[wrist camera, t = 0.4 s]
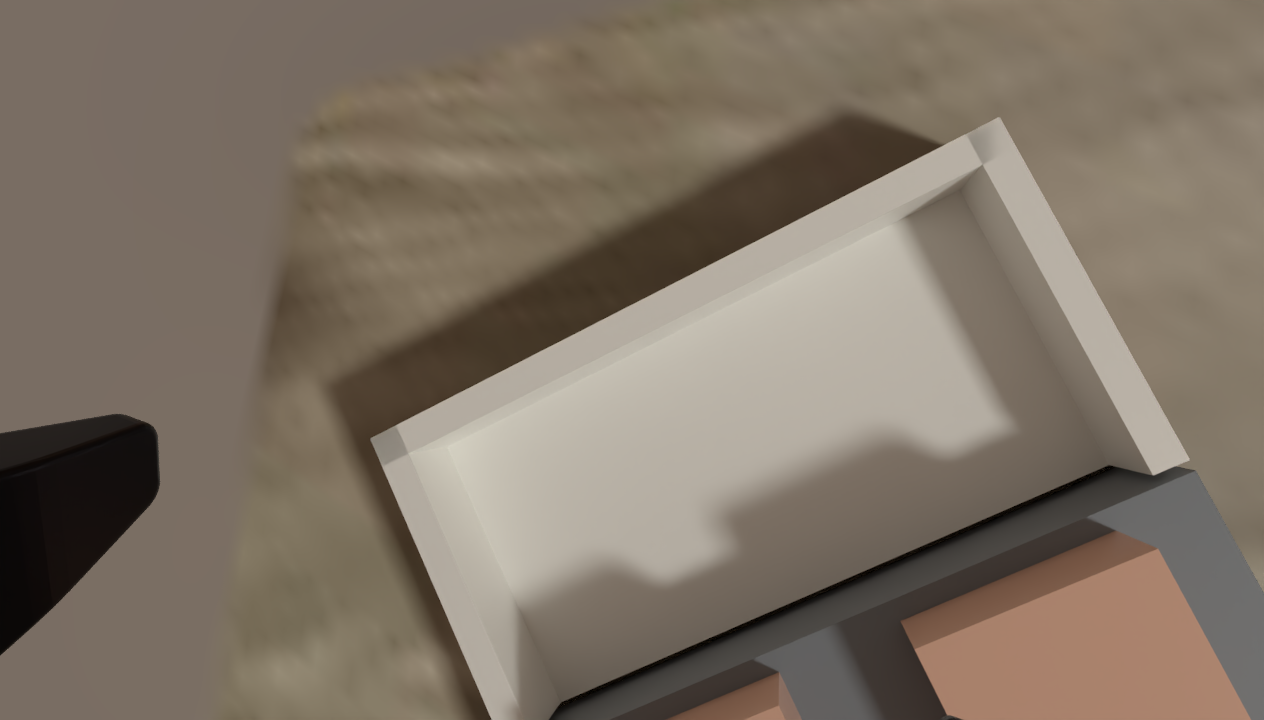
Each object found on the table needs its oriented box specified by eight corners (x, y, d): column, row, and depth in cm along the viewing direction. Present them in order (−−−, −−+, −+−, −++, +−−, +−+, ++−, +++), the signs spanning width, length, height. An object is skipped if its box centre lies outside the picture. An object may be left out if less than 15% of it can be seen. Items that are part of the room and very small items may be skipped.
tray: (1130, 449, 20) (1189, 460, 17) (541, 704, 23) (505, 752, 20) (969, 154, 21) (999, 116, 18) (421, 432, 24) (370, 438, 21)
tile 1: (1233, 749, 17) (1293, 797, 15) (1006, 833, 18) (1034, 889, 16) (1115, 530, 17) (1158, 548, 16) (900, 621, 18) (914, 649, 16)
